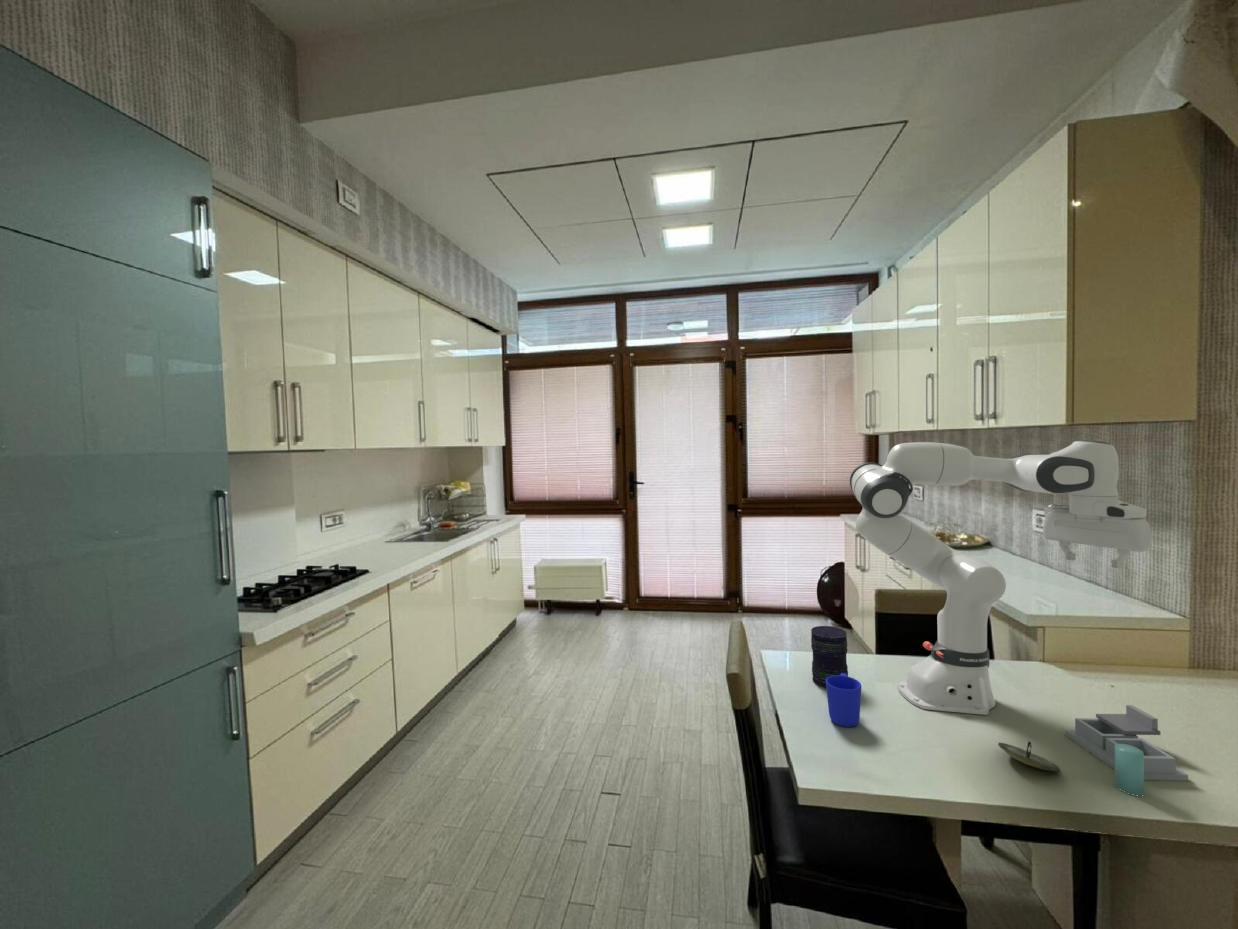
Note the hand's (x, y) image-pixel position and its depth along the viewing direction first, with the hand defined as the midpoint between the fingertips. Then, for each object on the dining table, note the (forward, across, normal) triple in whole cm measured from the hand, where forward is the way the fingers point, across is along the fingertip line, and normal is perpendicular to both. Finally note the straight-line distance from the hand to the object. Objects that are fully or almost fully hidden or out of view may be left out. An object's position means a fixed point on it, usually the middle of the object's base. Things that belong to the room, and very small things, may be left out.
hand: (1093, 563), depth 123 cm
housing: (+39, +11, -12) cm, 42 cm away
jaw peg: (+39, +18, -23) cm, 49 cm away
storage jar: (+40, -41, -43) cm, 71 cm away
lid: (+39, +6, -33) cm, 52 cm away
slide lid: (+34, +9, -6) cm, 36 cm away
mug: (+40, -24, -54) cm, 71 cm away
